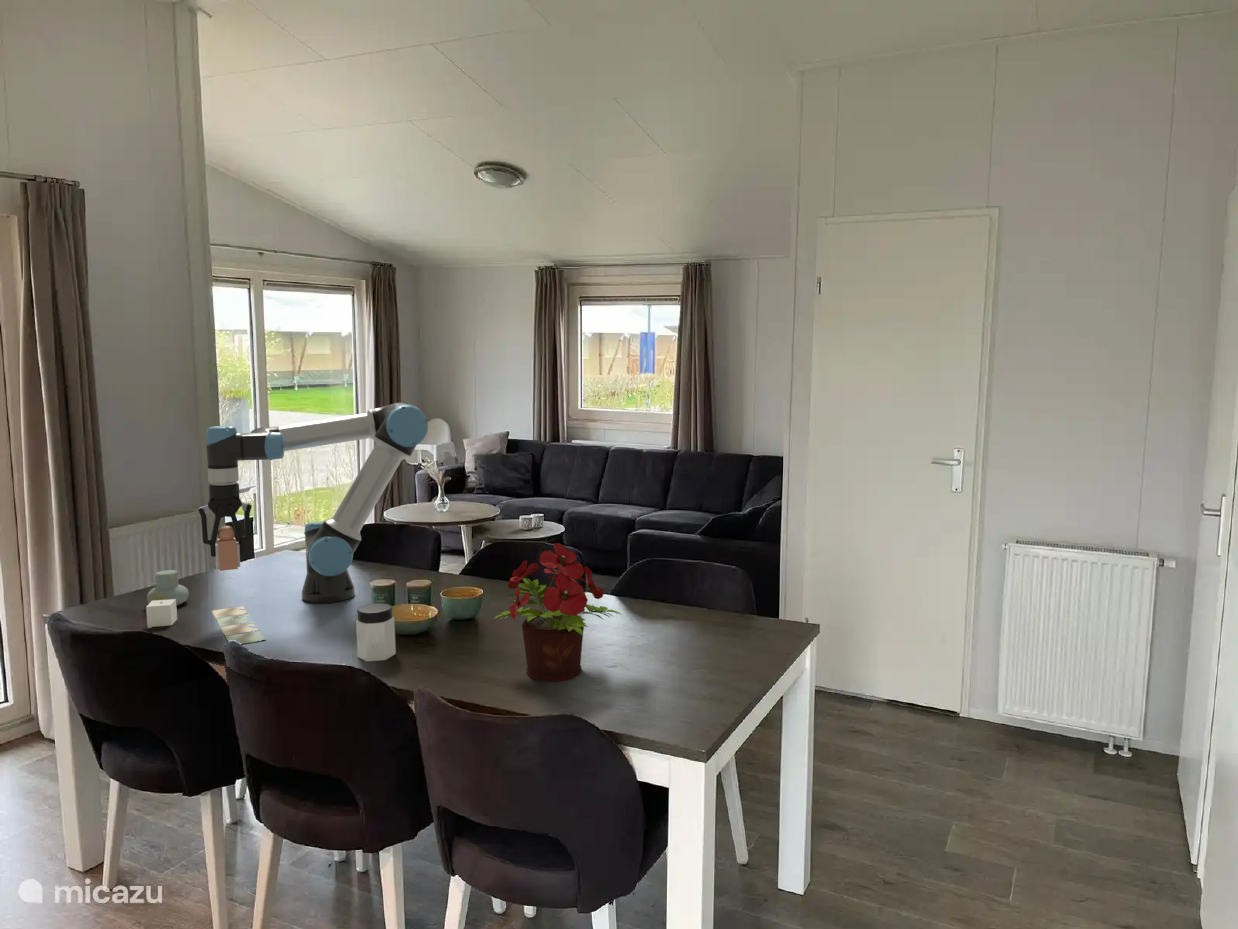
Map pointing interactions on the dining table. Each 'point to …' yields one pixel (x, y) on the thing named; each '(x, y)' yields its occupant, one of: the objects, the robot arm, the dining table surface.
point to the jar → (375, 632)
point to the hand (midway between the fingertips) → (228, 566)
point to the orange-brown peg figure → (227, 548)
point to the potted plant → (554, 615)
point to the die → (161, 613)
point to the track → (237, 631)
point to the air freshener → (168, 588)
